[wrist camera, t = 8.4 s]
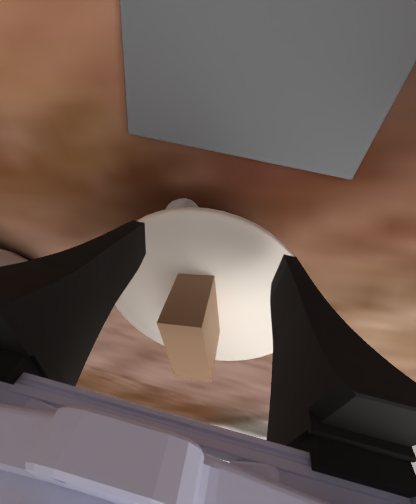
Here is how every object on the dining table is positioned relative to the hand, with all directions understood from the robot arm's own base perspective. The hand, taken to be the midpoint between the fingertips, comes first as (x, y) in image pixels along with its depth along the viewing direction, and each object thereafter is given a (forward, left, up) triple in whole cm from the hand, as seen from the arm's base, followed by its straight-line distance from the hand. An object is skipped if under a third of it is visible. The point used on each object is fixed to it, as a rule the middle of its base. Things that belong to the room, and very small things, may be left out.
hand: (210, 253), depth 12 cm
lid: (0, +6, -2) cm, 7 cm away
